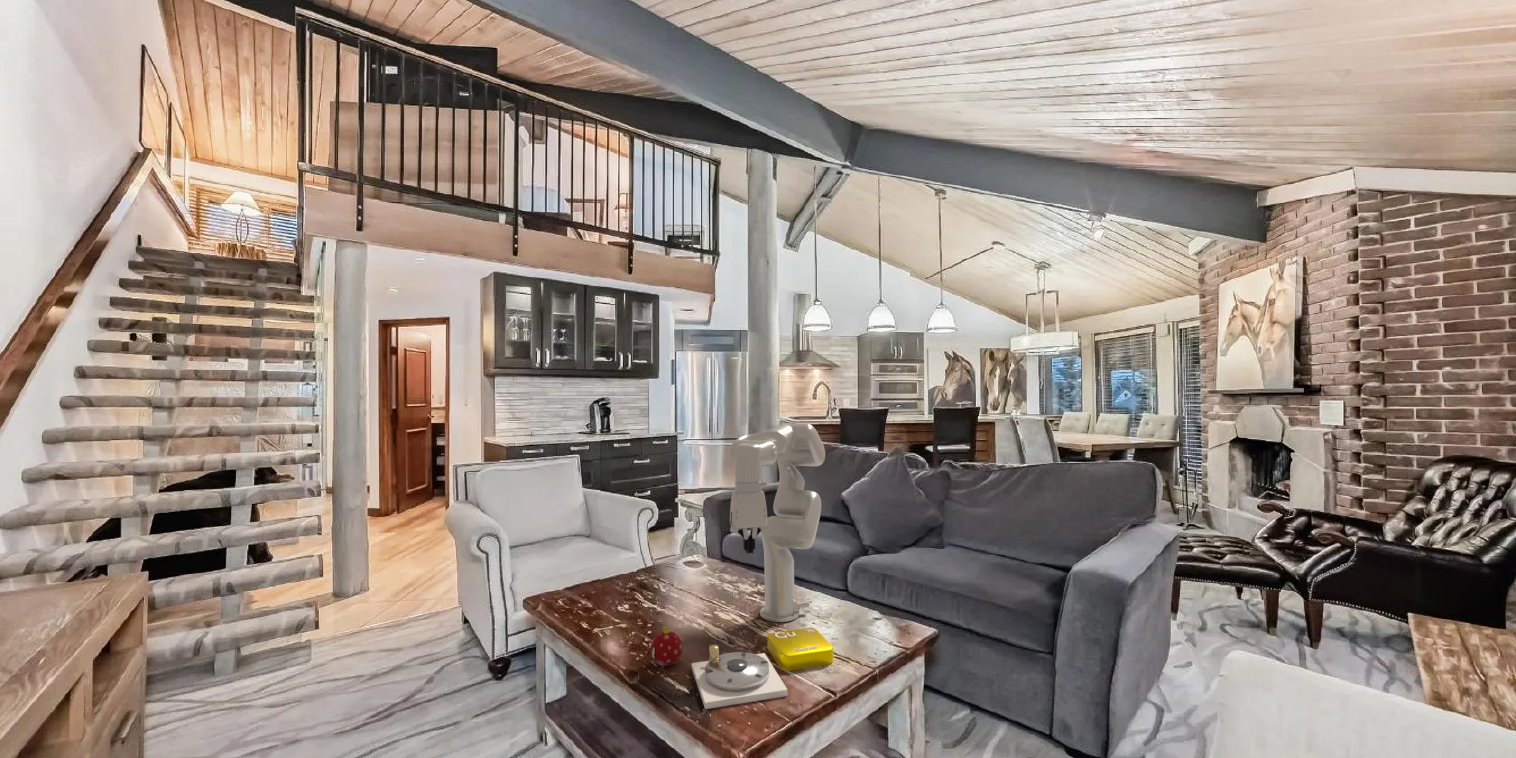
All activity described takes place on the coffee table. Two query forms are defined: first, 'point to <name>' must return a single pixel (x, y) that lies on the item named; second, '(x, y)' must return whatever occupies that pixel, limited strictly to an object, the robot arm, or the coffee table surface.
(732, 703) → the base plate
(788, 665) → the element tile
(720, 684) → the rotary dial
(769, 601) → the robot arm
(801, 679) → the coffee table surface
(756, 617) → the coffee table surface
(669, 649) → the christmas ornament
